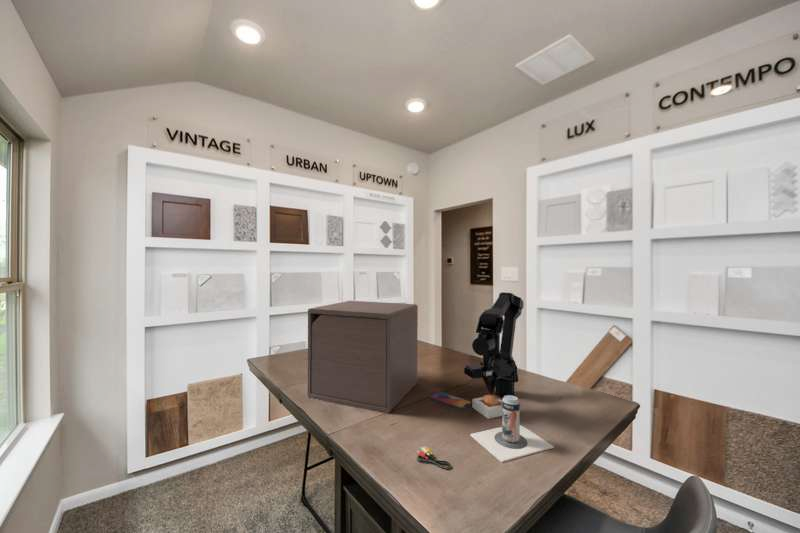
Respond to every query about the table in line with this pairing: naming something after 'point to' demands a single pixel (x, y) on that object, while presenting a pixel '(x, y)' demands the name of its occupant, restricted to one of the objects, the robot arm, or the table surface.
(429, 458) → the composite cable
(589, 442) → the table surface
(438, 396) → the smartphone
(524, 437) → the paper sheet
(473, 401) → the button housing
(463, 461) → the table surface
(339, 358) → the storage cube
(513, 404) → the beer can
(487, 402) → the button
